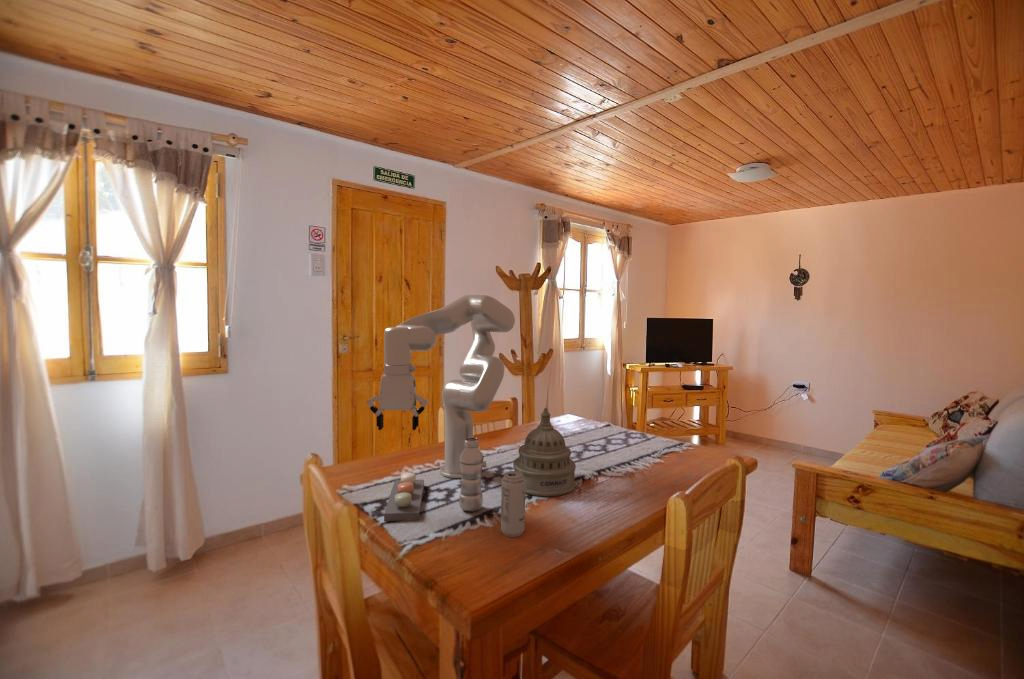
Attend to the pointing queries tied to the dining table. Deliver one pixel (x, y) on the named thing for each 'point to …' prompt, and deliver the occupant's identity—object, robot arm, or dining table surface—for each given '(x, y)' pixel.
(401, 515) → the button board
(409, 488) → the key terracotta
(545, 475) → the dome
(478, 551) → the dining table surface
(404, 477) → the key cream
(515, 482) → the energy drink can
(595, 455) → the dining table surface
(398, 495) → the key sage
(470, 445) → the plastic bottle
